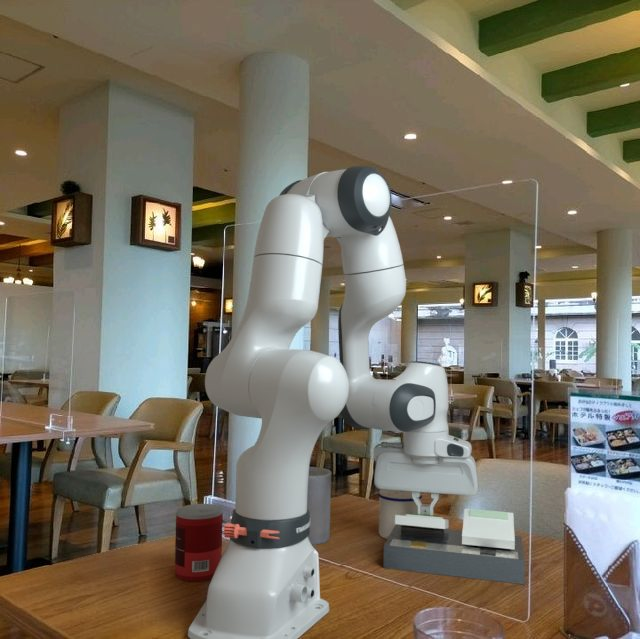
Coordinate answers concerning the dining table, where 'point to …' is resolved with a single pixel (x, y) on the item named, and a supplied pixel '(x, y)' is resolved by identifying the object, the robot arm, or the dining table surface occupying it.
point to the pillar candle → (319, 504)
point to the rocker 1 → (422, 521)
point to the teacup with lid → (394, 508)
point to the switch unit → (451, 555)
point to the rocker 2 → (488, 529)
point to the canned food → (198, 541)
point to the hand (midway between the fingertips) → (425, 514)
